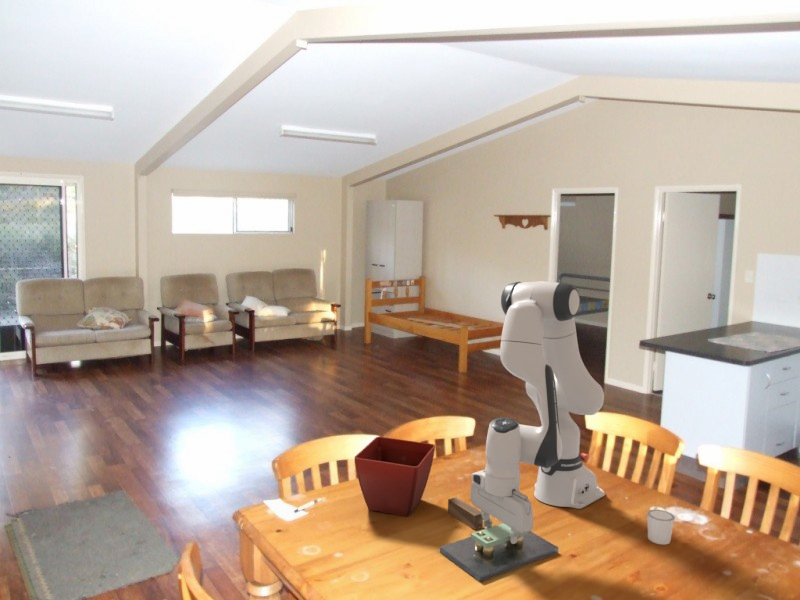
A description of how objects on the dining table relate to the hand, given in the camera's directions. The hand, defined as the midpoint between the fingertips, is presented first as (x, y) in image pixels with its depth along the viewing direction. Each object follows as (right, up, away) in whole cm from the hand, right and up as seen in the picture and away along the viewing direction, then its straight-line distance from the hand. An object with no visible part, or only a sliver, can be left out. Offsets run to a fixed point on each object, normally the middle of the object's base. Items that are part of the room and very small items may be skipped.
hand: (499, 534), depth 170 cm
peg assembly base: (0, -5, +1) cm, 5 cm away
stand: (-7, -2, +19) cm, 20 cm away
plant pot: (-27, -1, +27) cm, 38 cm away
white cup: (+44, -5, +9) cm, 46 cm away
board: (0, 0, 0) cm, 0 cm away
